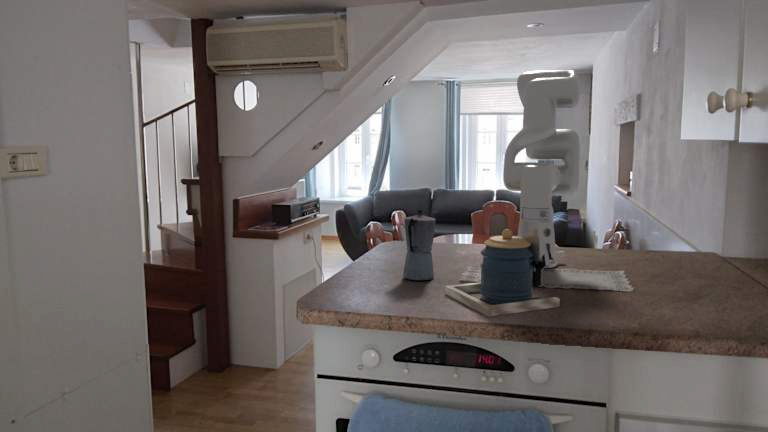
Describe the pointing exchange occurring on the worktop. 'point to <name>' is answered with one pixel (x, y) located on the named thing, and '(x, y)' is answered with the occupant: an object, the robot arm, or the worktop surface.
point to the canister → (506, 269)
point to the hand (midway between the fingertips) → (533, 285)
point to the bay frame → (500, 309)
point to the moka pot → (419, 247)
